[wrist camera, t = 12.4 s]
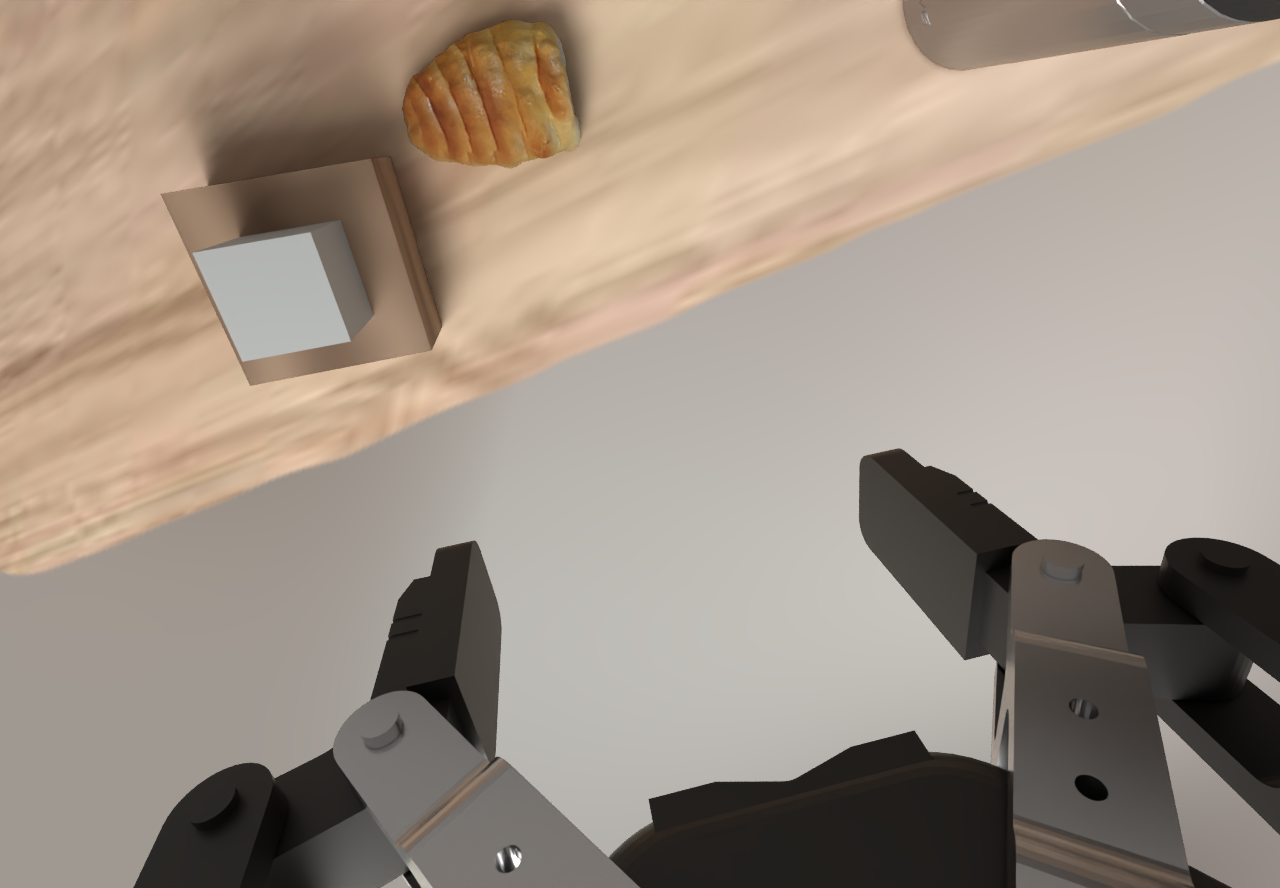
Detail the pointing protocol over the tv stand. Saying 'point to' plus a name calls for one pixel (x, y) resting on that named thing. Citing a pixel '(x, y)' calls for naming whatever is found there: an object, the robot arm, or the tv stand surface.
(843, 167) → the tv stand surface
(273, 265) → the grey cube
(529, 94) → the pastry
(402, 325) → the tan square block
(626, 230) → the tv stand surface
